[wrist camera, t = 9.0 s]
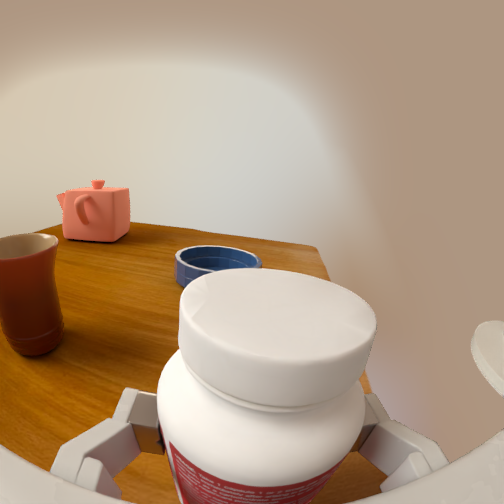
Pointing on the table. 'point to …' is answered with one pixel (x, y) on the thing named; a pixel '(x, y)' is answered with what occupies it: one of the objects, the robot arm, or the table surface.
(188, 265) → the bowl
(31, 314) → the mug
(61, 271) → the table surface
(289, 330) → the pill bottle
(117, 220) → the teapot
